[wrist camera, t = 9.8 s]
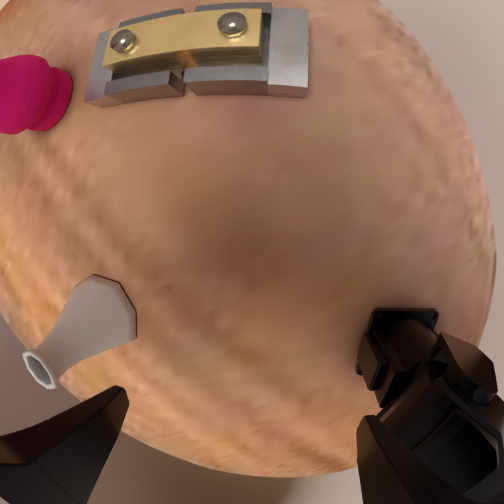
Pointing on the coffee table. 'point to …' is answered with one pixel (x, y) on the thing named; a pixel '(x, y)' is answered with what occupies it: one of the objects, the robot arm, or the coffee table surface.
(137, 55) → the link bar
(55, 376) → the flask
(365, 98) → the coffee table surface
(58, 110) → the pepper mill
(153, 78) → the grey metal base
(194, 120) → the coffee table surface
